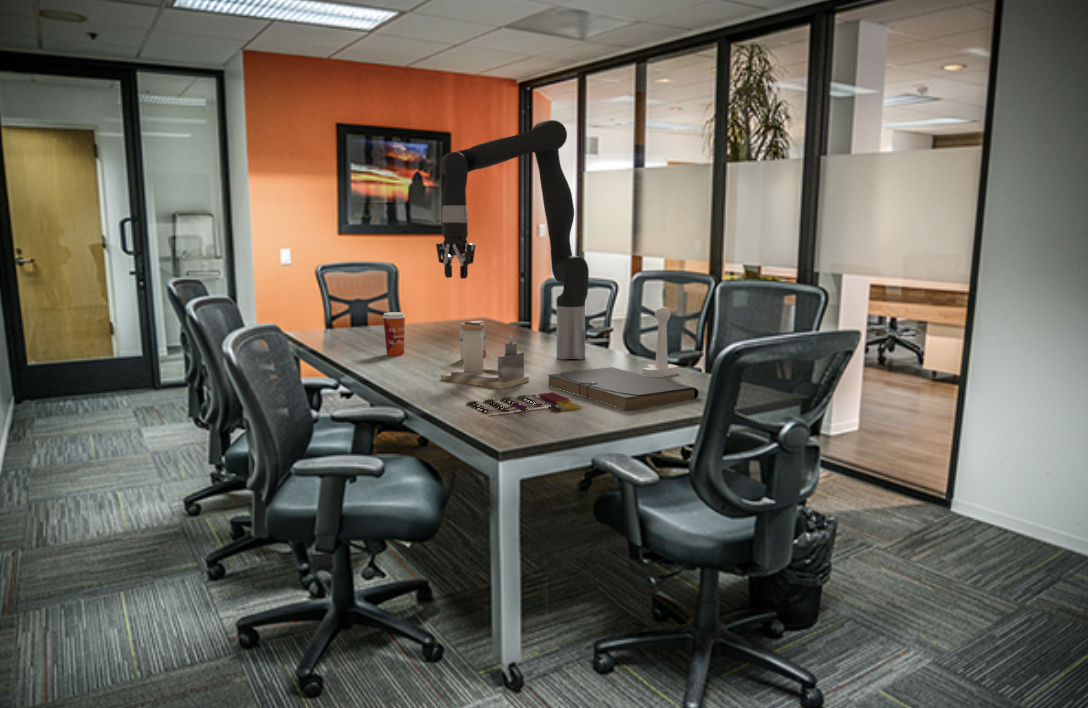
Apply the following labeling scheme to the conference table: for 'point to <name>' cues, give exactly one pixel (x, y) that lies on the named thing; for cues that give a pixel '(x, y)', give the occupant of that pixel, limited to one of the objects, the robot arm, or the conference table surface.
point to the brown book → (621, 387)
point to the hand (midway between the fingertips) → (456, 277)
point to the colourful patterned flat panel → (550, 397)
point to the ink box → (483, 339)
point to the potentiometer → (510, 347)
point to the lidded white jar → (473, 347)
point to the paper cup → (394, 332)
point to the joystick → (661, 348)
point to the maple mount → (494, 373)
